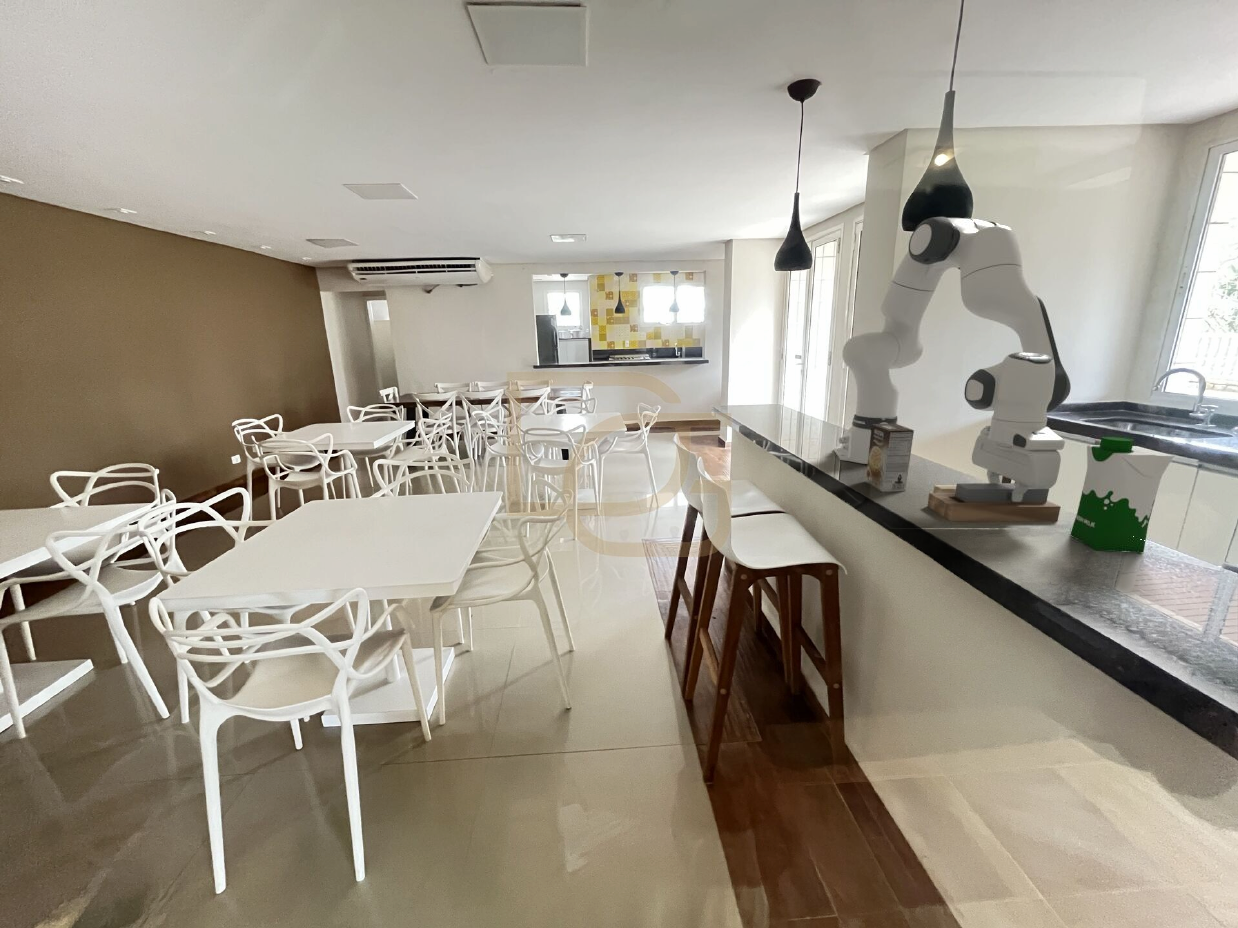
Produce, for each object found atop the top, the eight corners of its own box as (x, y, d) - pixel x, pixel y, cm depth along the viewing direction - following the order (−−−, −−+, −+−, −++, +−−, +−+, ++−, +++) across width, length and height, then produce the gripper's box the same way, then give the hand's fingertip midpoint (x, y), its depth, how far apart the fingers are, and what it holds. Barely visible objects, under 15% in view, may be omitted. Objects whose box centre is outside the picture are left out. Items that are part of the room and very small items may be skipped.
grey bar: (953, 505, 106) (957, 480, 105) (1030, 505, 105) (1035, 480, 103) (964, 512, 102) (968, 486, 101) (1044, 512, 101) (1049, 486, 99)
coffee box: (864, 482, 129) (870, 423, 125) (888, 481, 129) (895, 423, 124) (881, 492, 120) (888, 430, 116) (907, 492, 120) (915, 429, 116)
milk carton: (1061, 533, 94) (1083, 433, 88) (1115, 535, 92) (1141, 433, 87) (1094, 552, 85) (1121, 443, 80) (1155, 555, 83) (1186, 444, 78)
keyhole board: (927, 507, 109) (929, 493, 108) (1025, 507, 107) (1027, 492, 106) (950, 522, 100) (952, 506, 99) (1057, 522, 99) (1060, 506, 98)
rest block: (932, 494, 117) (934, 485, 117) (963, 494, 117) (964, 484, 116) (939, 498, 114) (941, 488, 114) (970, 498, 114) (972, 488, 113)
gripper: (968, 424, 109) (959, 481, 113) (1036, 443, 90) (1023, 512, 93) (998, 423, 109) (987, 481, 112) (1072, 443, 89) (1057, 512, 93)
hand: (1004, 495), depth 103 cm, fingers open, 5 cm apart
